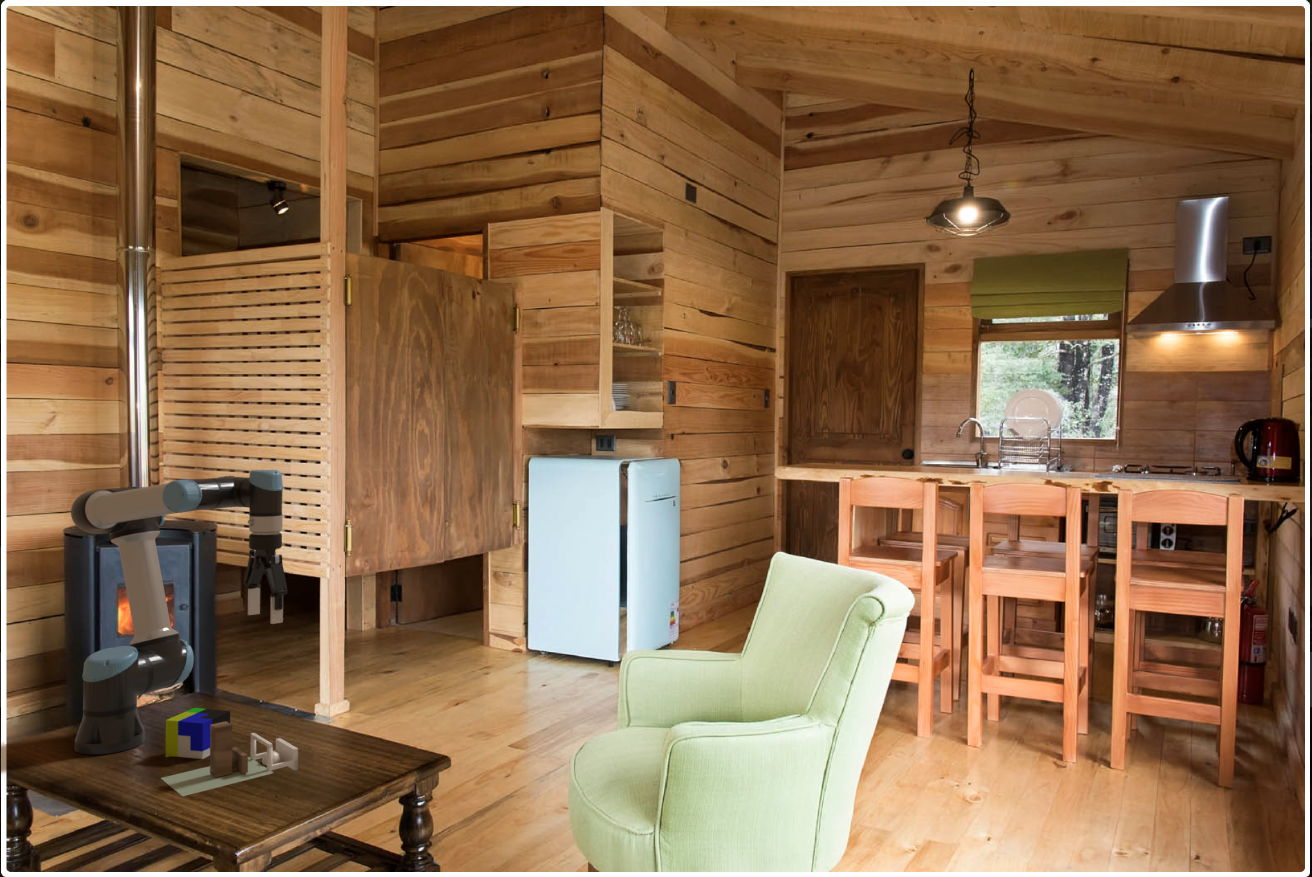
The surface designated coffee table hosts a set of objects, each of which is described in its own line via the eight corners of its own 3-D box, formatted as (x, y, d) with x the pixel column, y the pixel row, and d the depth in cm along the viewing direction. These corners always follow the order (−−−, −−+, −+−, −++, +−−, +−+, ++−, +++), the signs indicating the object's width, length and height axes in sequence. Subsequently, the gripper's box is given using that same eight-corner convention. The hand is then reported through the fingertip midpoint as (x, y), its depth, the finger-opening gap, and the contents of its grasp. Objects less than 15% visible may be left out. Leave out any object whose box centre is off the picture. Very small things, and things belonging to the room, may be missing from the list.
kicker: (207, 771, 211) (207, 723, 211) (235, 764, 216) (236, 717, 216) (218, 779, 207) (219, 730, 206) (247, 772, 211) (248, 724, 211)
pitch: (160, 784, 208) (160, 751, 208) (276, 756, 226) (276, 725, 226) (182, 803, 198) (182, 767, 198) (301, 772, 216) (301, 739, 216)
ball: (279, 755, 222) (267, 769, 220) (267, 746, 220) (255, 760, 218) (286, 759, 219) (274, 774, 217) (274, 750, 217) (262, 765, 215)
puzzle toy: (202, 765, 220) (202, 723, 220) (165, 762, 222) (165, 720, 222) (230, 751, 230) (230, 710, 230) (194, 748, 232) (194, 707, 232)
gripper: (230, 529, 235) (229, 612, 236) (271, 538, 218) (271, 629, 218) (260, 527, 241) (259, 609, 241) (302, 536, 223) (302, 624, 224)
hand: (265, 618), depth 230 cm, fingers open, 13 cm apart
